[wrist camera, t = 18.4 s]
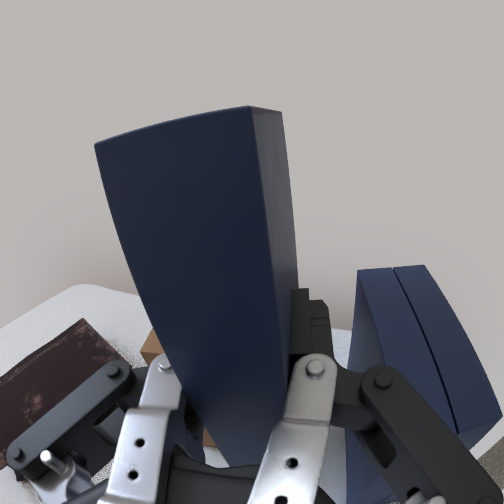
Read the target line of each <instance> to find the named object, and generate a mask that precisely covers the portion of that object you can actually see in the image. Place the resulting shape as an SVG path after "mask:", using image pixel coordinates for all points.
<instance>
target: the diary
mask: <svg viewBox="0 0 504 504" xmlns="http://www.w3.org/2000/svg"><path fill="white" fill-rule="evenodd" d="M113 360H124V361H126V360H125V359H124V358H123V357H122V356H121V355H120V354H119V353H118V352H117V351H116V350H115V349H114V348H113V347H111V346H110V345H109V344H108V343H107V342H106V341H105V340H104V339H103V338H102V337H101V336H100V335H99V334H98V333H97V332H96V331H95V330H94V329H93V328H92V326H91V325H90V324H89V323H87V321H86V320H85V319H84V318H82V319H80V320H79V321H77V322H76V323H75V324H73V325H72V326H71V327H69V328H68V329H66V330H65V331H64V332H62V333H61V334H60V335H58V336H57V337H56V338H54V339H53V340H51V341H50V342H48V343H47V344H45V345H44V346H42V347H41V348H39V349H38V350H36V351H34V352H33V353H31V354H30V355H28V356H27V357H26V358H24V359H23V360H22V361H20V362H19V363H18V364H17V365H15V366H14V367H13V368H12V369H10V370H9V371H8V372H7V373H5V374H4V375H3V376H1V377H0V470H2V469H3V468H4V467H6V466H7V465H8V466H9V464H8V462H7V459H6V453H7V449H8V447H9V445H10V444H11V443H12V442H13V441H14V440H15V439H17V438H18V437H19V436H20V435H21V434H23V433H24V432H25V431H26V430H27V429H28V428H30V427H31V426H32V425H33V424H34V423H36V422H37V421H38V420H39V419H40V418H42V417H43V416H44V415H45V414H46V413H47V412H49V411H50V410H51V409H52V408H53V407H55V406H56V405H57V404H58V403H59V402H61V401H62V400H63V399H64V398H65V397H67V396H68V395H69V394H70V393H71V392H73V391H74V390H75V389H76V388H77V387H79V386H80V385H81V384H82V383H83V382H85V381H86V380H87V379H88V378H89V377H91V376H92V375H93V374H94V373H95V372H97V371H98V370H99V369H100V368H101V367H103V366H104V365H105V364H107V363H108V362H110V361H113ZM126 362H127V361H126ZM127 363H128V362H127ZM128 364H129V363H128ZM129 366H130V367H131V368H132V366H131V365H130V364H129ZM118 407H119V406H118V405H117V404H116V403H115V404H113V405H112V406H111V407H110V408H109V409H108V410H107V411H106V412H105V413H103V414H102V415H101V416H100V417H99V418H98V419H97V420H96V421H95V422H94V424H93V426H96V425H99V424H100V423H102V422H103V421H104V420H105V419H106V418H107V417H108V416H109V415H110V414H112V413H113V412H114V411H115V410H116V409H117V408H118ZM9 467H10V466H9ZM10 468H11V467H10ZM12 469H13V468H12ZM13 470H14V469H13ZM14 472H15V474H16V480H17V482H18V481H22V480H25V479H26V478H25V477H24V476H23V475H21V474H20V473H18V472H17V471H15V470H14Z"/></svg>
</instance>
